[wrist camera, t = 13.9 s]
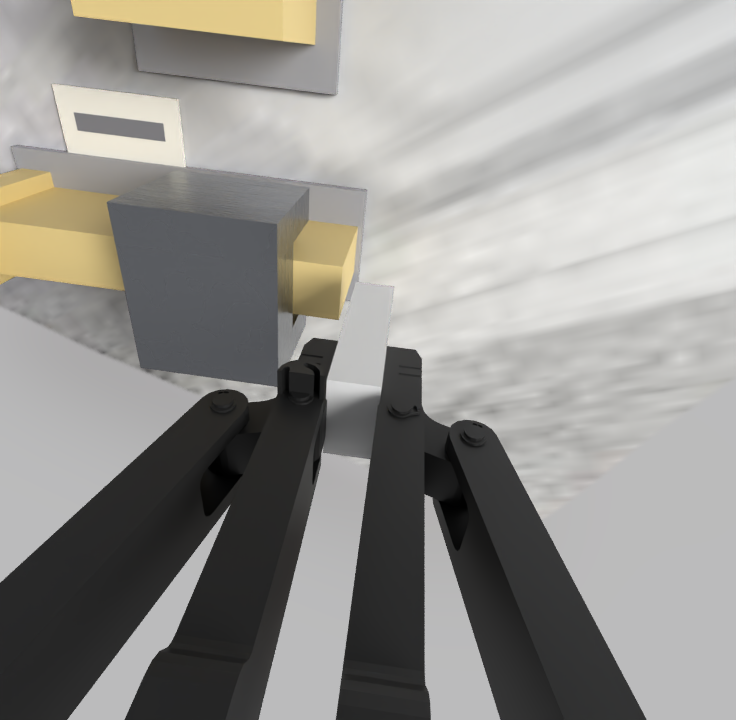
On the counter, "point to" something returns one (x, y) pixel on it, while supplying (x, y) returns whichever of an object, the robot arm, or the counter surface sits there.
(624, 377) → the counter surface
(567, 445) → the counter surface
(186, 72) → the stub
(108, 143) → the label
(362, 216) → the rail
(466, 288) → the counter surface
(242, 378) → the grey block
